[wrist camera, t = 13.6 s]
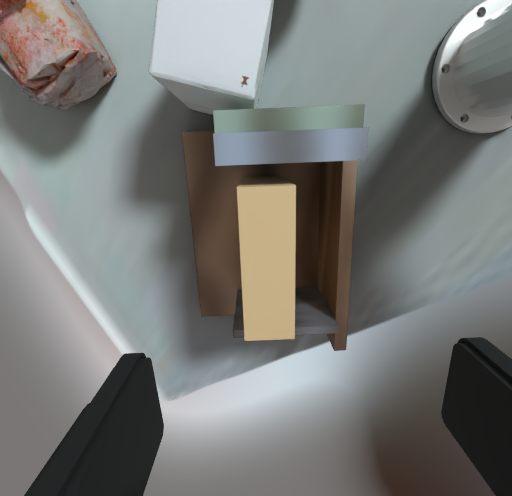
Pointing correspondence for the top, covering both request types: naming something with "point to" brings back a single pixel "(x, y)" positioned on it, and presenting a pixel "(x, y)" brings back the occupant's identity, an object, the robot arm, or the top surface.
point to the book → (267, 256)
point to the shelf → (307, 205)
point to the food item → (52, 51)
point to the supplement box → (211, 51)
